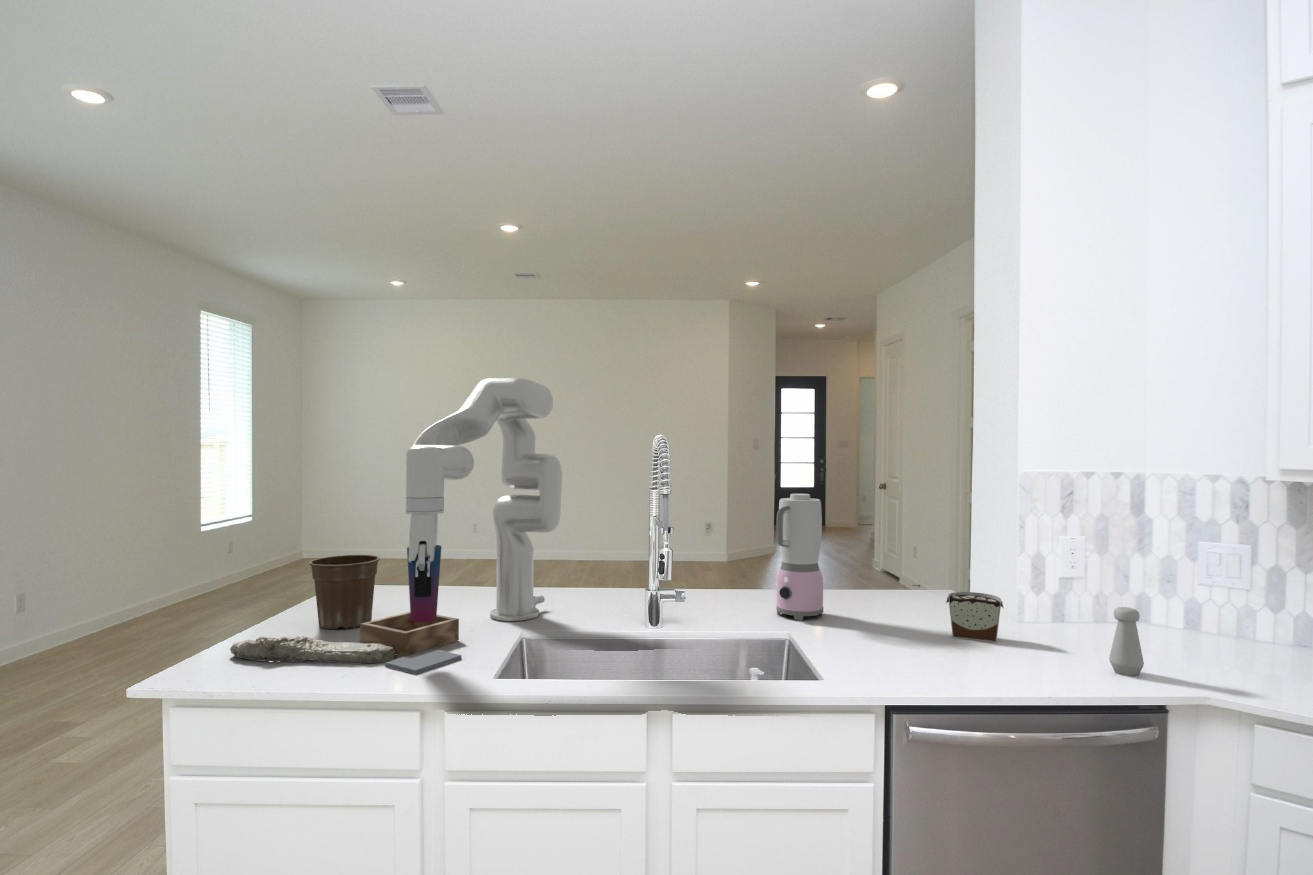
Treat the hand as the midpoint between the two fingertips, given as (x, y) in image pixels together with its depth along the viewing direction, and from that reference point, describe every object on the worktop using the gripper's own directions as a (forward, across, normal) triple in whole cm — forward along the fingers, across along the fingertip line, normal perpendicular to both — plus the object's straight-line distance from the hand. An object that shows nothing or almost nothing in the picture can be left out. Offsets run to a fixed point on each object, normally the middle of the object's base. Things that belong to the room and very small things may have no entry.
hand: (424, 592), depth 151 cm
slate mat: (+14, 0, 0) cm, 14 cm away
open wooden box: (+14, -16, -4) cm, 22 cm away
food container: (+14, +6, +125) cm, 126 cm away
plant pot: (+15, -38, -22) cm, 46 cm away
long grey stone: (+15, -9, -23) cm, 29 cm away
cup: (+6, 0, 0) cm, 6 cm away
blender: (+14, -21, +92) cm, 96 cm away
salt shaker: (+15, +37, +137) cm, 143 cm away
